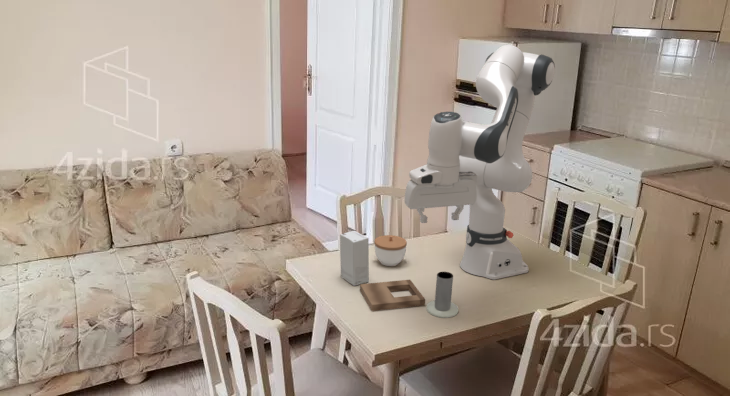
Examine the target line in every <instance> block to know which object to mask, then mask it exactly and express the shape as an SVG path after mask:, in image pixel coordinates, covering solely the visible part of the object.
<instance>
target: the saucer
mask: <svg viewBox="0 0 730 396" xmlns="http://www.w3.org/2000/svg"><path fill="white" fill-rule="evenodd" d="M426 311H427V313H428V314H430V315H431V316H433V317H436V318H440V319H450V318H453V317H455V316H457V315H458V314H459V307H458V305H457V304H455V303H454V302H453V301H451V307H450V310H448V311H439V310H437V309H436V308H435V299H434V300H431V301H428V303H427V304H426Z"/></svg>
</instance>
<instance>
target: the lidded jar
mask: <svg viewBox="0 0 730 396" xmlns="http://www.w3.org/2000/svg"><path fill="white" fill-rule="evenodd" d="M407 244H408V242H407V240H406V239H405V238H404V237H402V236H398V235H393V234H387V235H380V236H377V237H376V238H375V239H374V253H375V257H376V259H377V260H378V261H379V262H380V264H381V265H383V266H385V267H395V266H397V265H399V263H401V262H402V261H403V259H404V258H405V255H406V250H407Z"/></svg>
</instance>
